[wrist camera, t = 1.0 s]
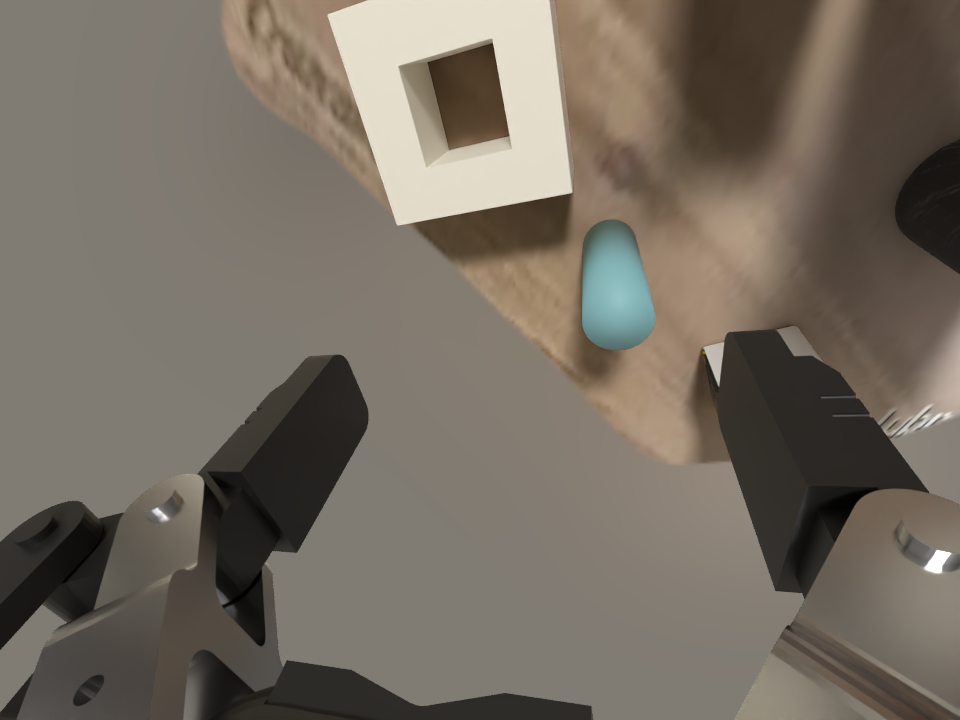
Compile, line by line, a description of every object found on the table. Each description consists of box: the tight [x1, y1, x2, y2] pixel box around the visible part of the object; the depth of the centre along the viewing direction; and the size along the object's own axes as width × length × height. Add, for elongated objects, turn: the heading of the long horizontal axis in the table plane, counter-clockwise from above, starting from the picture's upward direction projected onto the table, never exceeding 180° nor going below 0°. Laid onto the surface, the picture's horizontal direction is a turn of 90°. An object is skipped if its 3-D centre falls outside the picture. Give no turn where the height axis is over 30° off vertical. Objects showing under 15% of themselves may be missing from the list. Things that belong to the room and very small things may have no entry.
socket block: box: [328, 0, 574, 225], centre depth 29 cm, size 12×12×6 cm
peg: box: [582, 220, 655, 350], centre depth 31 cm, size 4×4×12 cm
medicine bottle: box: [702, 326, 824, 414], centre depth 34 cm, size 7×7×12 cm
